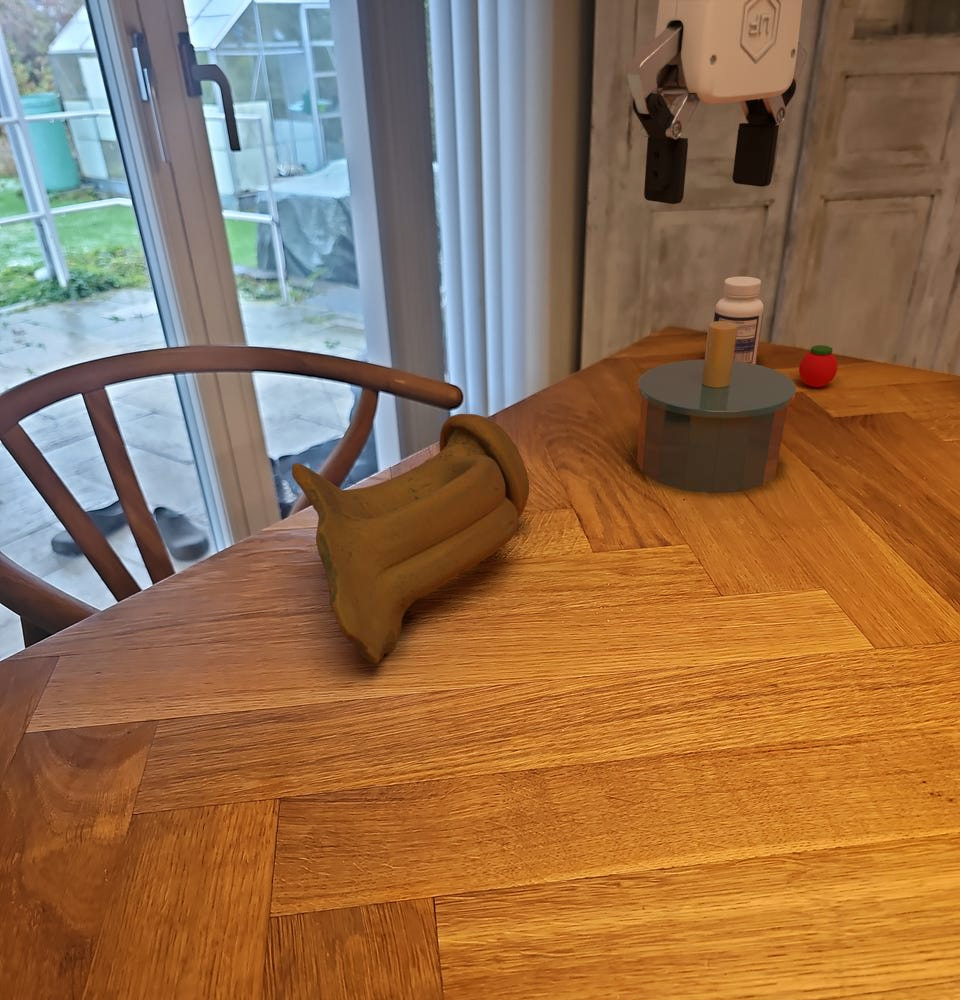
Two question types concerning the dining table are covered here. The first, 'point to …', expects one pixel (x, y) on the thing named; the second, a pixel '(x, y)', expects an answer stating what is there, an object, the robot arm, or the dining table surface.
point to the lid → (717, 382)
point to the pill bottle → (742, 315)
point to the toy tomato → (818, 366)
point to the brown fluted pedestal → (415, 528)
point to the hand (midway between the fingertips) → (708, 192)
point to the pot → (708, 449)
